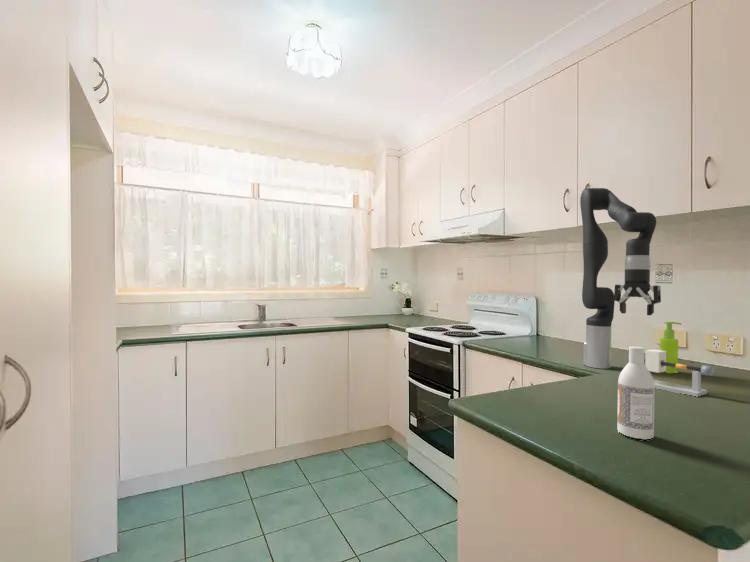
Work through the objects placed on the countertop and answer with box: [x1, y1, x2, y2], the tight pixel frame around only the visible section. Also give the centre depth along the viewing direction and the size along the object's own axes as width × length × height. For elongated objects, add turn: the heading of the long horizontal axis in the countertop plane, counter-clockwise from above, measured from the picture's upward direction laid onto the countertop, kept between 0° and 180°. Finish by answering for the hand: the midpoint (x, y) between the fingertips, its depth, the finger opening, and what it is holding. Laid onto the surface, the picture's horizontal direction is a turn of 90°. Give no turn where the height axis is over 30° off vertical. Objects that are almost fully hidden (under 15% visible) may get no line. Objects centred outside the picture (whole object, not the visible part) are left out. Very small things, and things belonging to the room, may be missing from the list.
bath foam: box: [616, 345, 656, 440], centre depth 91 cm, size 7×7×20 cm
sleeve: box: [644, 349, 666, 374], centre depth 137 cm, size 4×6×7 cm
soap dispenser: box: [659, 321, 682, 374], centre depth 160 cm, size 6×7×20 cm
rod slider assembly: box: [644, 358, 715, 398], centre depth 133 cm, size 22×8×10 cm, turn 33°
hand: (636, 314), depth 142 cm, fingers open, 8 cm apart
